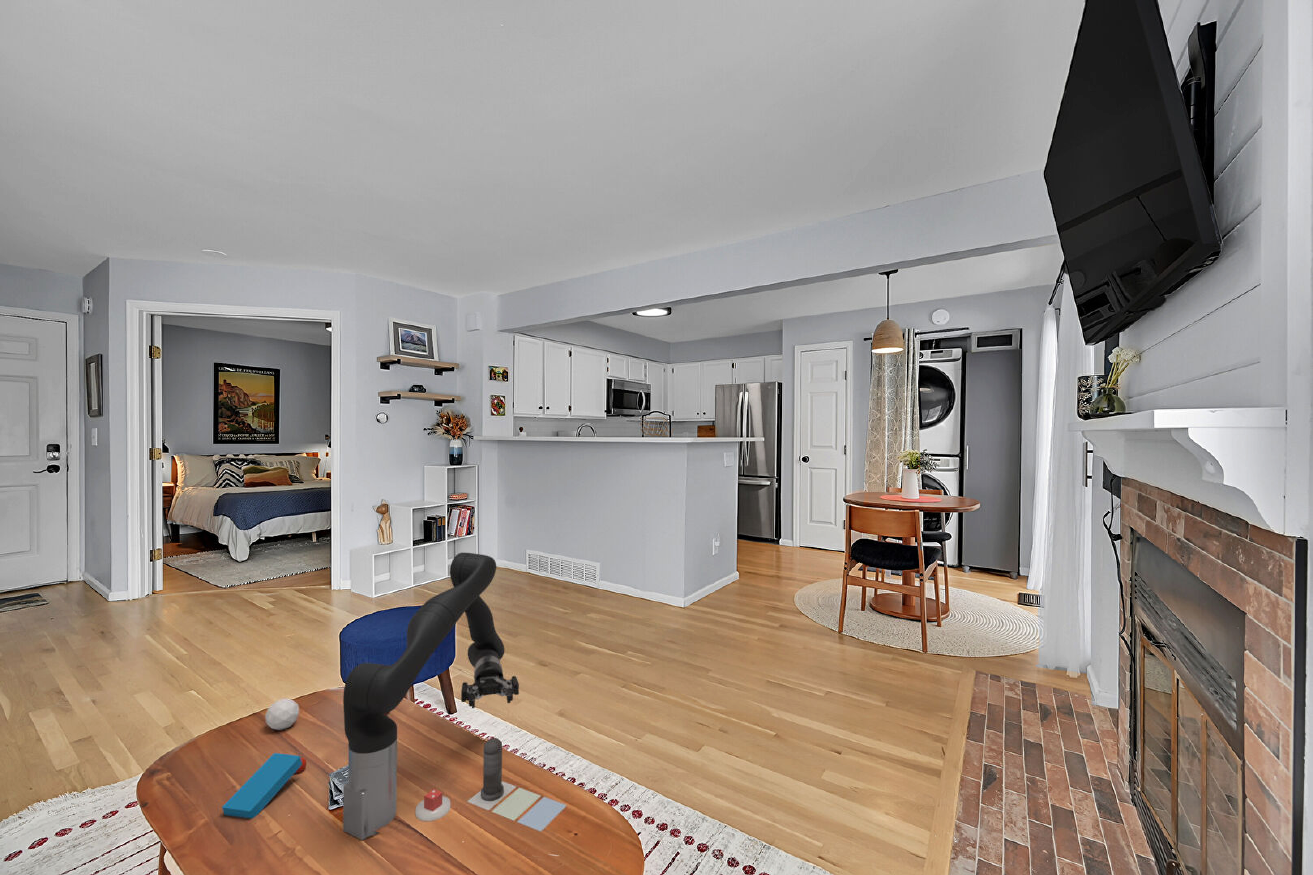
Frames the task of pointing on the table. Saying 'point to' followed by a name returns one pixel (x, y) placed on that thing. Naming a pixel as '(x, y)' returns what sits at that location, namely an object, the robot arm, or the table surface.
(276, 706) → the geometric ball
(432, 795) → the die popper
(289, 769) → the lever
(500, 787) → the charcoal pawn
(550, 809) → the game board
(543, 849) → the table surface
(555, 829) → the table surface
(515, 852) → the table surface
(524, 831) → the table surface
